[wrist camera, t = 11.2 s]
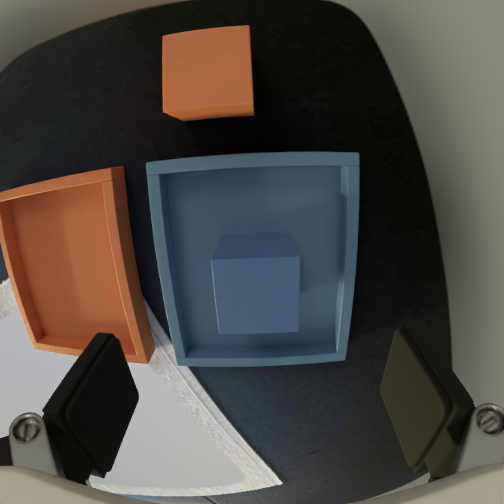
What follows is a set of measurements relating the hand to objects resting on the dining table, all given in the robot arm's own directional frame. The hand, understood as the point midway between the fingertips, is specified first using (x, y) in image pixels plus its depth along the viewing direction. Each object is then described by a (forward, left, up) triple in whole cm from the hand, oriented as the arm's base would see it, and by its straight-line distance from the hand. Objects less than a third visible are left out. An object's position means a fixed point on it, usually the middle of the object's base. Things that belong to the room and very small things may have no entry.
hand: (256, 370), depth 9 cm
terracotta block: (-11, -2, -12) cm, 16 cm away
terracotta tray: (+1, -15, -12) cm, 19 cm away
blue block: (+1, 0, -11) cm, 11 cm away
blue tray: (+1, 0, -12) cm, 12 cm away
